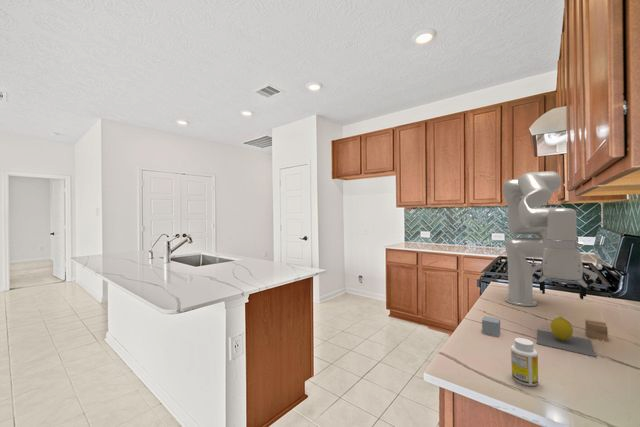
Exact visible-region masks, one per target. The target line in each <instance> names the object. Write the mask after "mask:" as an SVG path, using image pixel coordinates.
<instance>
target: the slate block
mask: <svg viewBox="0 0 640 427" xmlns="http://www.w3.org/2000/svg"><path fill="white" fill-rule="evenodd" d="M481 328H482V330H481V332H482V333H484V334H483V335H486V334H487V335H488V336H492V337H497V338H500V334H501V318H497V317H491V316H486V315H483V318H482V320H481ZM482 333H481V334H482Z"/></svg>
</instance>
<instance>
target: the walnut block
mask: <svg viewBox="0 0 640 427" xmlns="http://www.w3.org/2000/svg"><path fill="white" fill-rule="evenodd" d="M584 325H585V326H584V327H585V332H584V333H585V334H586V339H593V340H597V339H598V341H602V340H604V341H603V342H607V341H608V342H609V340H608V336H609V335H608V332H609V331H608V325H607V324H606V322H605V321H599V320H593V319H588V318H585V320H584Z"/></svg>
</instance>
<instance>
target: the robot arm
mask: <svg viewBox="0 0 640 427" xmlns="http://www.w3.org/2000/svg"><path fill="white" fill-rule="evenodd" d="M561 186H562V178H561V175H560V174H559V173H558V172H556V171H554V170H551V171H549V170H547V171H530V172H526V173H522V175H519V177H518V178H514V179H508V180H506V181H505V182H504V183H503V186H502V194H503V198H504V200H505V202H506V206H507V221H508V222H507V223H508V224H507V225H508V231H509V232H510V233H511V234H513V235H525V236H526V235H528V236H529V235H533V236H535V237H523V236H522V237H521V236H520V237H517V236H516V237H510V238H507V240H506V241H505V243H504V244H505V247H504V248H505V251H506V257H507V277H508V278H507V281H508V282H507V283H508V284H507V285H508V286H507V287H508V291H507V292H508V296H506V297H504V301H505V302H506V303H509V304H511V305H516V306H521V307H536V306H537V305H538V302H537V300H535V299H533V296H534V294H533V292H534V291H533V288H534V287H533V277H534V278H535V279H536V280H537V281H538V282H539V292H540V291H542V295H545V294H546V281H545V280H546V279H558V280H565V281H568V280H569V281H576V282H578V283H579V290H578V291H579V292H578V293H579V299H581V300H584V297H585V298H586V297H587V287H588V286H590V285H592V284H594V282H595V281H596V280H597V278H598V277H599V274H598V273H596V272H593V271H592V270H590V269H587V268H586V267H583V261H582V253H581V250H580V249H578V248H579V247H584V242H582V241H581V242H580V241H578V240H577V239H578V236H577V230H578V228H577V221H578V220H577V218H578V217H577V215H578V214H577V211H576V210H575V209H573V208H569V207H568V208H566V207H541V206H543V205H545V204H547V203H548V202H550V200H551V198H552V195H553V193H555V192H557V191H558V190H559V189H560V188H561ZM526 258H537V259H541V258H542V263H541V264H537V265H533V266H532V264H530V263H531V262H529V261H528V260H527V259H526ZM540 269H541V270H542V274H541V275H540V274H538V273H537V272H536V271H538V270H540ZM583 273H584V274H586V275H587V276H590V277H589V278H587V279H586V280H584V279H583V276H584V275H583Z"/></svg>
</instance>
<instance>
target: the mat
mask: <svg viewBox="0 0 640 427" xmlns="http://www.w3.org/2000/svg"><path fill="white" fill-rule="evenodd" d="M536 345H540V346H544V347H548V348H551V349H557V350H562V351H565V352H570V353H576V354H579V355H580V354H581V355H584V356H588V357H592V358H593V357H594V358H597V355H596V352H595V350H594V346H593V344H592V341H591V338H583V337H580V336H574V335H572V336H571V338H569V339H567V340H564V341H561V340H560V339H559V338H557V337H555V336H554V334H553V333H552V331H548V330H543V329H537V332H536Z"/></svg>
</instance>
